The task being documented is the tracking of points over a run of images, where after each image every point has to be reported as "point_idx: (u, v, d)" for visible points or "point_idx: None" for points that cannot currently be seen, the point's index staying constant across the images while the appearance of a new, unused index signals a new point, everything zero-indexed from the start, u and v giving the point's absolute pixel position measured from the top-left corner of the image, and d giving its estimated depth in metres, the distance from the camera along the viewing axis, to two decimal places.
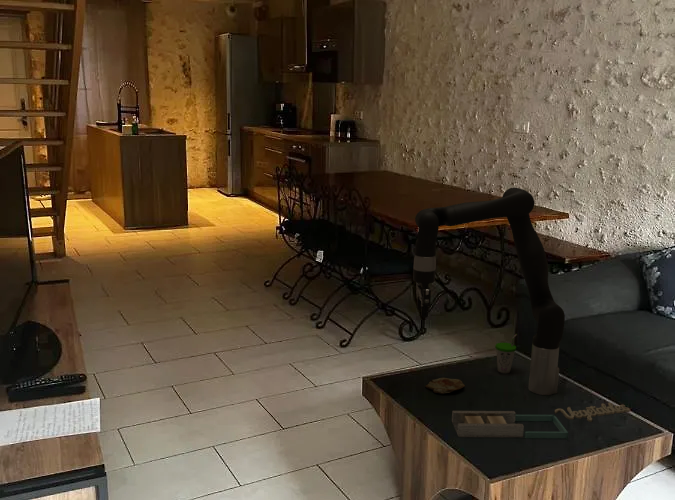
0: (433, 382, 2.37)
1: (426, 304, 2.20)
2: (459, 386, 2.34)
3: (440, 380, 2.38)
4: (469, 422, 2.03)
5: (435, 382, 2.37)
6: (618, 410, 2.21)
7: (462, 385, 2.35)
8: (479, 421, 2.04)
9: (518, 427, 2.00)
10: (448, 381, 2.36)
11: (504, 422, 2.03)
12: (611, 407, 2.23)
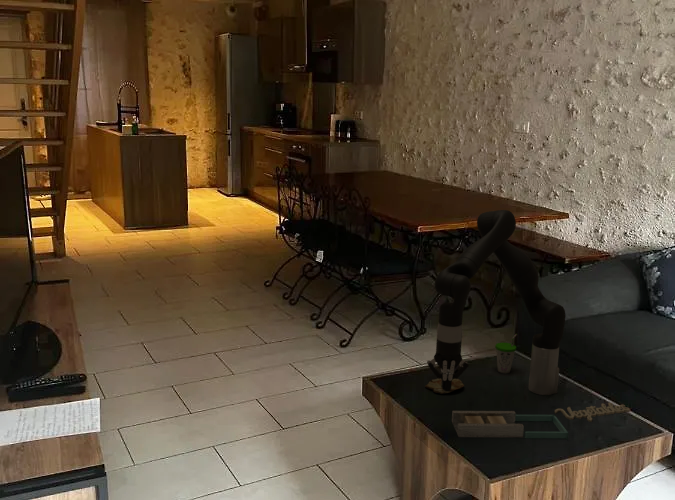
0: (433, 382, 2.37)
1: None
2: (459, 386, 2.34)
3: (440, 380, 2.38)
4: (469, 422, 2.03)
5: (435, 382, 2.37)
6: (618, 410, 2.21)
7: (462, 385, 2.36)
8: (479, 421, 2.04)
9: (518, 427, 2.00)
10: None
11: (504, 422, 2.03)
12: (611, 407, 2.23)
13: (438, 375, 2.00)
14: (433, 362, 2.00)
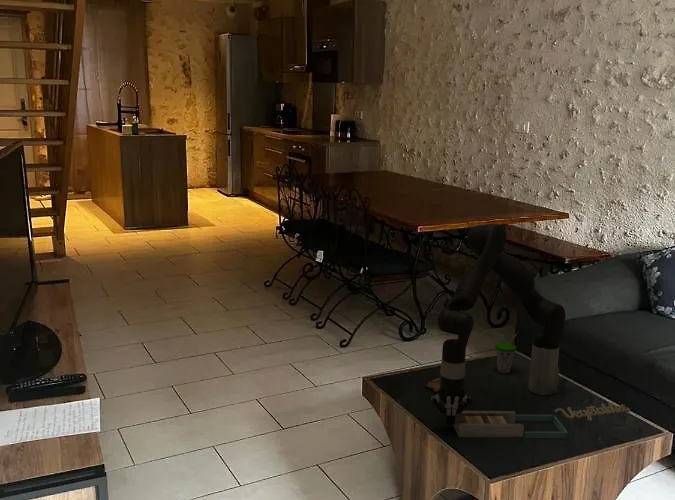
0: (432, 382, 2.37)
1: None
2: None
3: (439, 380, 2.38)
4: (469, 422, 2.03)
5: (434, 382, 2.37)
6: (618, 410, 2.21)
7: None
8: (479, 421, 2.04)
9: (518, 427, 2.00)
10: None
11: (504, 422, 2.03)
12: (611, 407, 2.23)
13: (442, 410, 2.03)
14: (437, 397, 2.02)
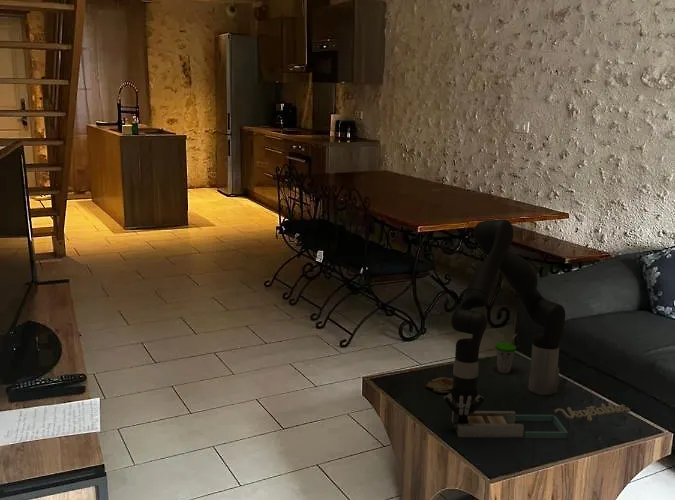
0: (432, 382, 2.37)
1: None
2: None
3: (439, 380, 2.38)
4: (470, 422, 2.03)
5: (434, 382, 2.37)
6: (618, 410, 2.21)
7: None
8: (480, 421, 2.03)
9: (518, 427, 2.00)
10: (447, 381, 2.36)
11: (504, 422, 2.03)
12: (611, 407, 2.23)
13: (454, 410, 2.03)
14: (449, 397, 2.02)
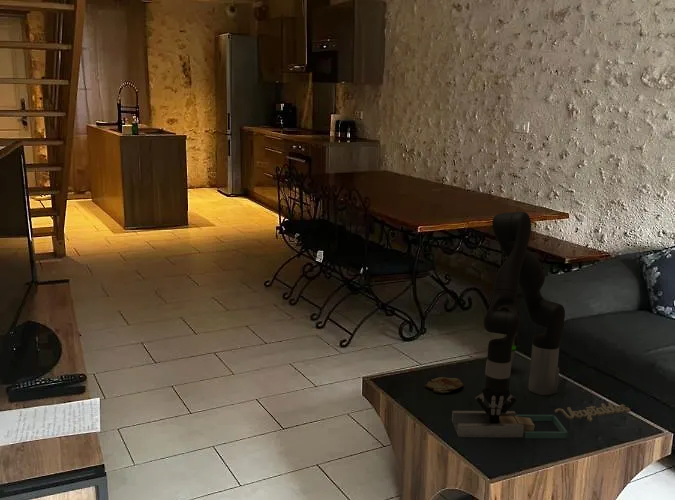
0: (432, 382, 2.37)
1: None
2: (458, 385, 2.35)
3: (439, 379, 2.38)
4: (502, 422, 2.03)
5: (434, 382, 2.37)
6: (618, 410, 2.21)
7: (461, 384, 2.36)
8: (512, 421, 2.04)
9: (518, 427, 2.00)
10: (447, 381, 2.36)
11: (532, 424, 2.04)
12: (611, 407, 2.23)
13: (486, 410, 2.03)
14: (481, 397, 2.03)
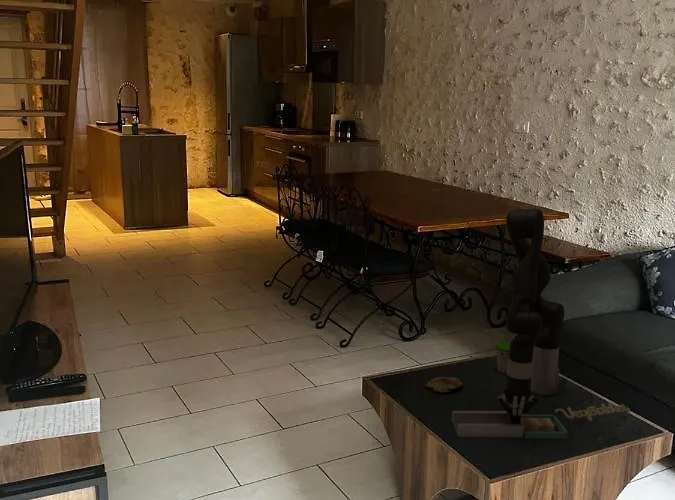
0: (432, 381, 2.38)
1: None
2: (458, 384, 2.35)
3: (438, 379, 2.39)
4: (523, 424, 2.03)
5: (434, 381, 2.38)
6: (618, 410, 2.21)
7: (460, 383, 2.37)
8: (532, 423, 2.04)
9: (518, 427, 2.00)
10: (446, 380, 2.37)
11: (552, 424, 2.04)
12: (611, 407, 2.23)
13: (508, 410, 2.03)
14: (503, 397, 2.03)
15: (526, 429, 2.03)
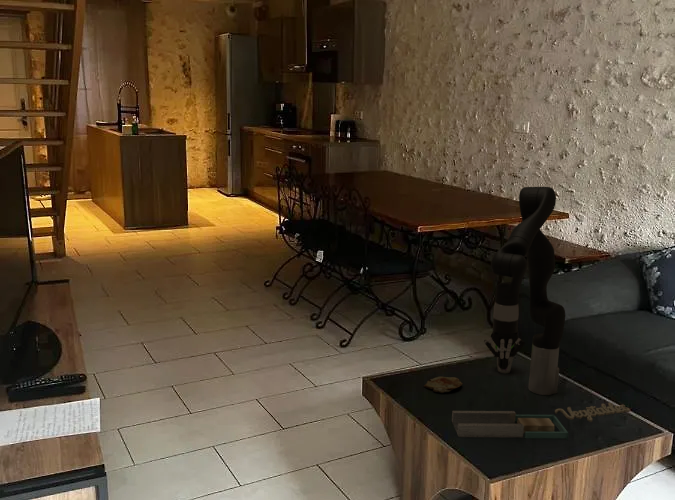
0: (431, 381, 2.38)
1: None
2: (458, 384, 2.36)
3: (438, 379, 2.39)
4: (523, 424, 2.03)
5: (433, 381, 2.38)
6: (618, 410, 2.21)
7: (460, 383, 2.37)
8: (532, 423, 2.04)
9: (518, 427, 2.00)
10: (446, 380, 2.37)
11: (552, 424, 2.04)
12: (611, 407, 2.23)
13: (495, 354, 2.04)
14: (490, 341, 2.04)
15: (526, 429, 2.03)
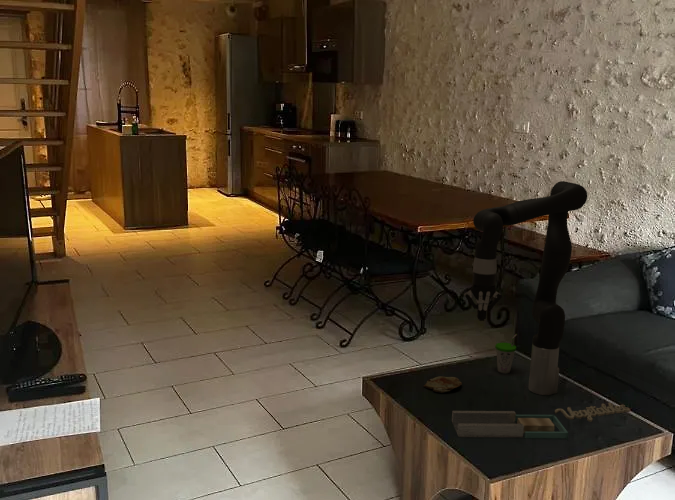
0: (431, 381, 2.38)
1: None
2: (457, 384, 2.36)
3: (437, 379, 2.39)
4: (523, 424, 2.03)
5: (433, 381, 2.38)
6: (618, 410, 2.21)
7: (460, 382, 2.38)
8: (532, 423, 2.04)
9: (518, 427, 2.00)
10: (445, 380, 2.37)
11: (552, 424, 2.04)
12: (611, 407, 2.23)
13: (474, 305, 2.19)
14: (470, 293, 2.19)
15: (526, 429, 2.03)
